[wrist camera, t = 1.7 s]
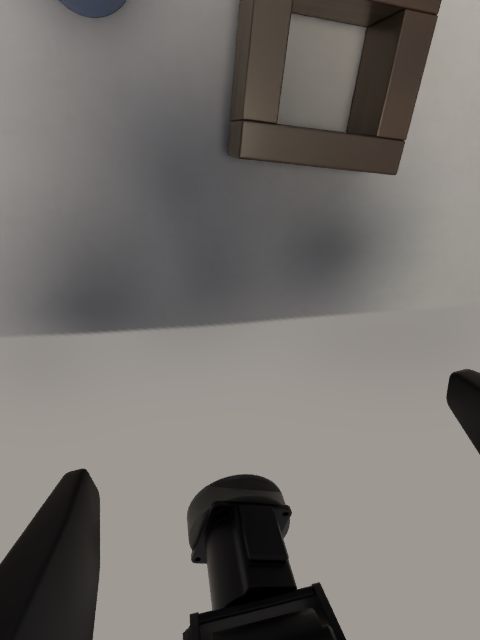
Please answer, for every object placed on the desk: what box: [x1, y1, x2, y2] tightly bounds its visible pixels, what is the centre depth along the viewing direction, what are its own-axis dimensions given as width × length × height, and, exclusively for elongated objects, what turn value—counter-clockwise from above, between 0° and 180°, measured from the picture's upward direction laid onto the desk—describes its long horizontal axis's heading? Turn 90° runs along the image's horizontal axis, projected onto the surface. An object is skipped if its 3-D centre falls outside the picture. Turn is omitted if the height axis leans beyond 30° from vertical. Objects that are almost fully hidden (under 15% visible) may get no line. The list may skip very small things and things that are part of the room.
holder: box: [227, 0, 441, 175], centre depth 16 cm, size 7×7×3 cm
